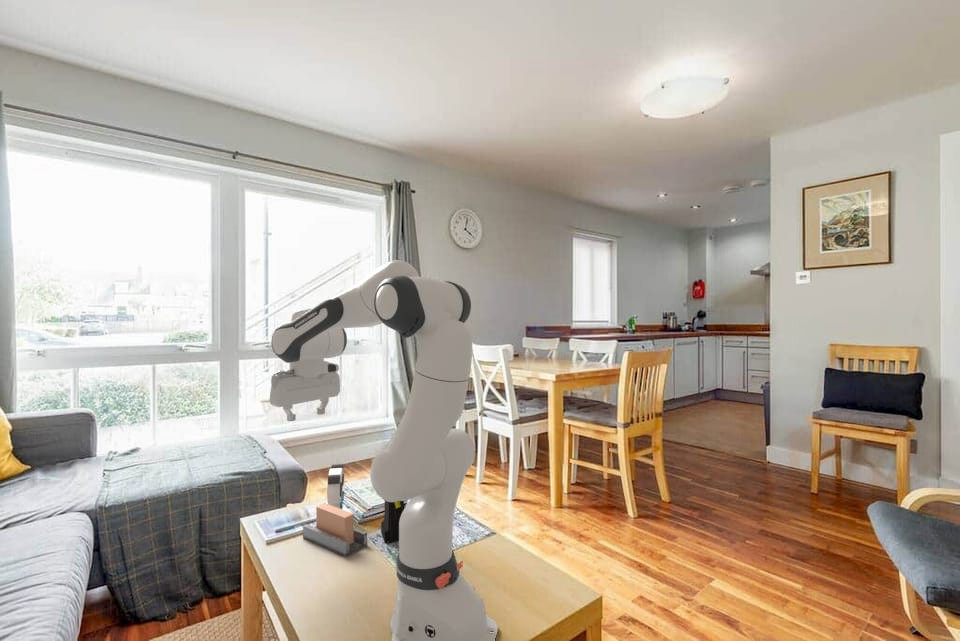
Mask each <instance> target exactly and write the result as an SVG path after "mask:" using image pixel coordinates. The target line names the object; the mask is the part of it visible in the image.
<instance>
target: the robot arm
mask: <svg viewBox="0 0 960 641" xmlns="http://www.w3.org/2000/svg"><path fill="white" fill-rule="evenodd" d="M471 309H472V301H471V297H470V295H469V293H468V290H466V288H464V287H463V286H461V285H460V284H458V283H455V282H453V281H449V280H448V281H447V280H440V279H436V278H435V279H434V278H431V277H427V276H420V275H419V273H418V270H416V269H415V267H414V266H413V265H412V264H411V263H409V262H407V261H405V260H400V259H395V260H390V261H389V262H387V263H384V264H383V265H380V266H378V267H377V268H375V269H374V270H373V271H371V272H369V273H368V274H367V275H366V276H365V277H363V278H362V279H361V280H360V281H358V282H357V283H356V284H353V285H352V286H350V287H348V288H347V289H346V290H344V291H342V292H340V293H338V294H336V295H334V296H331V297H330V298H328V299H326V300H324V301H321V302H320V303H318V304H317V305H315V306H314V307H313V308H306V309H305V308H304V309H298V310H296V311H294V312H293V313H292V315H291V319H290V321H283V322H282V323H280V324H279V326H277V328H275V330H274V332H273V334H272V337H271V347H272V351H273V352H274V354H275V355H276V356H277V357H278V358H279V359H280V360H282V362H284V363H287V364H289V369H286V370H277V371H276V372H275V373H274V374H272V376H271V378H270V379H271V380H270V383H271V387H270V392H269V404H270V405H272V407H276V408H281V407H282V409H283V411H284V413H285V415H286V420H287V422H294V421H295V422H296V420H297V418H296V416H297V415H296V413H293V412H292V410H293V405H297V404H304V403H309V402H314V401H318V400H319V401H320V405H319V407H317V408H316V414H317V415H319V416H321V415H326V408H327V406H328V404H329V401H330V398H334V397H338V395H339V394H340V392H341V377H340V375H339V373H338V372H339V370H340V365H338V363H337V364H336V363H333V362H330V361H326V360H324V359H331V358H332V359H333V358H336V357H340V356H341V355H342V354H343V353H344V351H345V350H346V347H347V344H348V338H347V331H346V330H345V329H352V328H355V329H356V328H371V327H374V326H378V325H381V324H383V325H385V326H386V327H388V328H390V329H391V330H394V331H396V332H397V333H398V334H399V335H400V336H402V337H403V338H405V339H408V338H411V337H412V336H414V337H415V339H416V340H417V345H418V349H417V350H418V351H417V357H416V361H415V368H414V373H413V378H412V385H411V389H410V393H409V398H408V403H407V406H406V409H405V412H404V414H403V416H402V418H401V420H400V422H399V424H398V426H397V428H396V430H395V431H394V433H393V435H392V437H391V438H390V439H389V441H388V442H387V443H386V444H385V446H384V447H383V448H382V449H381V450H380V451H379V452H378V453H377V454H376V455H375V457H374V458H373V459H372V462H371V465H370V471H369V472H370V474H369V475H370V476H369V477H370V482H371V484H372V488H373V489H374V491H375V493H376V494H377V496H379V497H380V498H381V499H382V500H383V501H384V502H385V501H388V502H397V501H404V502H405V501H408V500H409V502H408V504H407V505H406V506H404V508H405V509H404V511H403V512H402V514H401V517H400V521H399V541H398V553H397V555H396V565H395V566H396V567H395V568H396V577H397V587H396V596H395V597H396V598H395V602H394V607H393V608H394V609H393V612H392V615H391V619H390V623H389V627H390V631H391V635H392V636H391V641H494V639H495V637H496V635H497V632H498V633H499V630H498V629H499V627H498V623H497V622H496V620H493V619H492V618H491V617H489V616H488V615H487V610H486V605H485V601H484V598H482V596H480V594H479V593H478V592H477V591H476V588H475V587H474V585H473V584H470V582H468V581H467V580H466V578H465V577H464V576H463V574H461V573H460V570H461V569H462V568H463V567H464V564H463V563H464V560H461V561H460V562H458V560H457V557H456V554H455V553H454V552H455V551H454V550H453V538H454V537H453V536H454V535H453V532H454V516H455V511H456V506H457V503H458V499H459V495H460V492H461V488H462V485H463V483H464V480H465V477H466V476H467V473H468V472H469V469H470V468H471V467H472V465H473V463H474V461H475V458H476V448H475V444H474V440H473V439H472V437H471V436H470V435H469V434H468V432H466V431H464V430H462V429H460V428H453V427H454V426H455V424H457V423H458V421H459V420H460V418H461V417H462V414H463V413H464V408H465V402H466V397H467V392H468V386H469V383H470V382H469V381H470V375H471V369H472V361H473V360H472V359H473V333H472V331H471V329H470V327H469V326H468V325H466V322H467V320H468V319H469V316H470V314H471ZM490 632H494V633H490ZM497 636H498V635H497Z"/></svg>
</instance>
